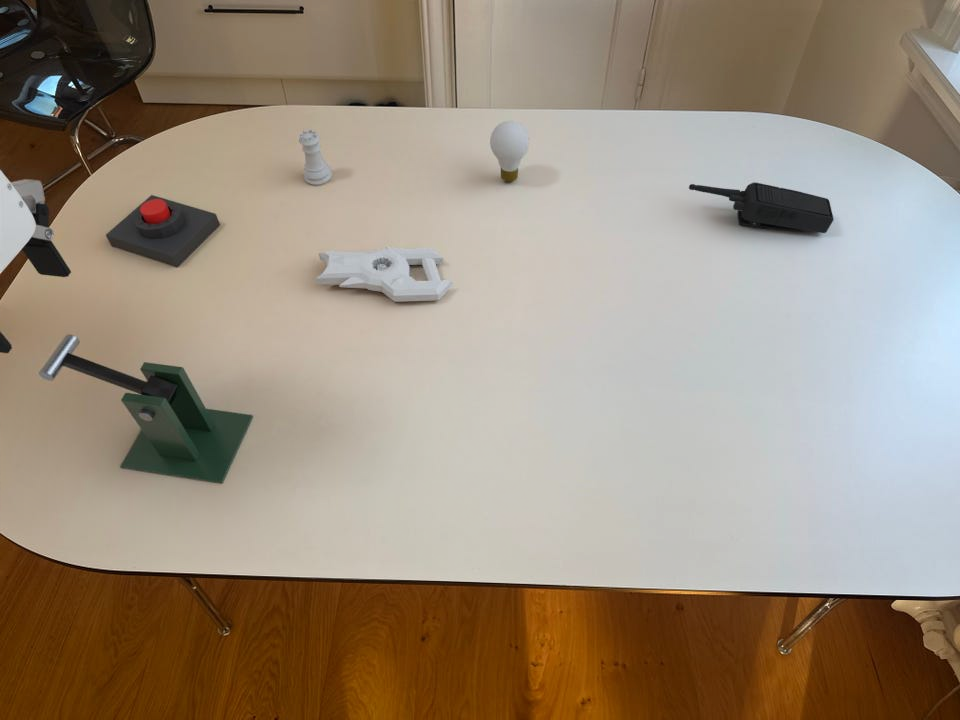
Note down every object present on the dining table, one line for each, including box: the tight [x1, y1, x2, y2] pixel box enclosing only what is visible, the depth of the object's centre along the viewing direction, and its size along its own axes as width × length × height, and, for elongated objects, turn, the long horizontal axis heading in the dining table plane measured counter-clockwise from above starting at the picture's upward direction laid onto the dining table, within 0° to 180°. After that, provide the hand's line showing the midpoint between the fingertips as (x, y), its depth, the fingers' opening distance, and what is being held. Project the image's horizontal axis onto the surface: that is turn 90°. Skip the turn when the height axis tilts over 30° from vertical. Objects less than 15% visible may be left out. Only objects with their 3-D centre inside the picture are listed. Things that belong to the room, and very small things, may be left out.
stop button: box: [140, 199, 170, 224], centre depth 101 cm, size 4×4×2 cm
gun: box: [315, 246, 453, 303], centre depth 96 cm, size 18×3×10 cm
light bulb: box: [489, 120, 530, 183], centre depth 107 cm, size 6×6×10 cm
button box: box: [105, 194, 221, 268], centre depth 103 cm, size 12×10×4 cm
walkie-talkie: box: [688, 182, 835, 234], centre depth 101 cm, size 6×6×20 cm
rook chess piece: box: [298, 128, 333, 186], centre depth 109 cm, size 4×4×8 cm
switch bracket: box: [120, 361, 254, 484], centre depth 76 cm, size 12×9×12 cm
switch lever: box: [38, 333, 178, 406], centre depth 72 cm, size 12×5×2 cm, turn 80°
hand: (27, 309), depth 66 cm, fingers open, 9 cm apart
